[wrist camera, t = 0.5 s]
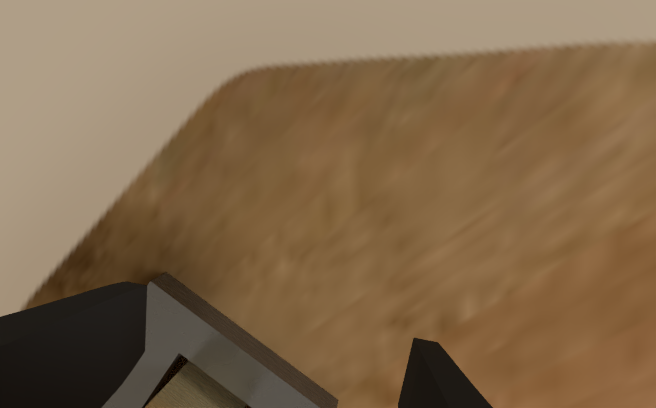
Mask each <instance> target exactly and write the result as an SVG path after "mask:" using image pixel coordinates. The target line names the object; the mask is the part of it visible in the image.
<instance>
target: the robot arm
mask: <svg viewBox="0 0 656 408" xmlns="http://www.w3.org/2000/svg"><path fill="white" fill-rule="evenodd" d="M146 309H147V286H146V285H141V284H136V283H131V282H121V283H116V284H112V285H108V286H104V287H101V288H97V289H94V290H91V291H87V292H84V293H81V294H77V295H74V296H71V297H67V298H64V299H61V300H57V301H54V302H51V303H48V304H44V305H41V306H38V307H34V308H31V309H27V310H23V311H20V312H16V313H12V314H9V315H5V316H2V317H0V408H102V407H103V405H104V404H105V403H106V402H107V401H108V400H109V399H110V398H111V397H112V395H113V394H114V393H115V392H116V391H117V390H118V389H119V387H120V386H121V385H122V384H123V382H124V381H125V380H126V378H127V377H128V375H129V374H130V373H131V371H132V370H133V369H134V367H135V366H136V364H137V363H138V361H139V360H140V358H141V357H142V355H143V354H144V352H145V338H146ZM398 408H493V407H492V406H491V405H490V404H489V403H488V402H487V401H486V399H485V398H484V397H483V396H482V395H481V394H480V393H479V391H478V390H477V389H476V388H475V387H474V386H473V384H472V383H471V382H470V381H469V380H468V378H467V377H466V376H465V375H464V373H463V372H462V371H461V370H460V369H459V367H458V366H457V365H456V364H455V362H454V361H453V360H452V359H451V358H450V356H449V355H448V354H447V353H446V351H445V350H444V349H443V348H442V347H441V346H440V344H439V343H438V342H433V341H428V340H423V339H418V338H414V339H413V343H412V347H411V352H410V356H409V360H408V364H407V369H406V373H405V377H404V381H403V386H402V390H401V394H400V399H399V403H398Z"/></svg>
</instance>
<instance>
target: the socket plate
mask: <svg viewBox="0 0 656 408" xmlns="http://www.w3.org/2000/svg"><path fill="white" fill-rule="evenodd" d="M182 355H183V356H184V357H185V358H187V359H188V360H189V361H191V362H192V363H193V364H195V365H196V366H197V367H198V368H200V369H201V370H202V371H204V372H205V373H206V374H208V375H209V376H210V377H212V378H213V379H214V380H216V381H217V382H218V383H220V384H221V385H222V386H224V387H225V388H226V389H228V390H229V391H230V392H232V393H233V394H234V395H236V396H237V397H238V398H240V399H241V400H242V401H244V402H245V403H246V404H248V405H249V406H250V407H252V408H337V404H338V400H337V399H336V398H334V397H333V396H332V395H330V394H329V393H328V392H326V391H325V390H324V389H322V388H321V387H320V386H318V385H317V384H316V383H314V382H313V381H312V380H310V379H309V378H308V377H306V376H305V375H304V374H302V373H301V372H300V371H298V370H297V369H295V368H294V367H293V366H291V365H290V364H289V363H287V362H286V361H285V360H283V359H282V358H281V357H279V356H278V355H277V354H275V353H274V352H273V351H271V350H270V349H269V348H267V347H266V346H265V345H263V344H262V343H261V342H259V341H258V340H257V339H255V338H254V337H252V336H251V335H250V334H248V333H247V332H246V331H244V330H243V329H242V328H240V327H239V326H238V325H236V324H235V323H234V322H232V321H231V320H230V319H228V318H227V317H226V316H224V315H223V314H222V313H220V312H219V311H218V310H216V309H215V308H214V307H212V306H211V305H209V304H208V303H207V302H205V301H204V300H203V299H201V298H200V297H199V296H197V295H196V294H195V293H193V292H192V291H191V290H189V289H188V288H187V287H185V286H184V285H183V284H181V283H180V282H179V281H177V280H176V279H175V278H173V277H172V276H171V275H169V274H168V273H167V272H166V273H164V274H162V275H161V276H159V277H157V278H155V279H153V280H151V281H150V282H149V284H148V285H147V309H146V338H145V352H144V354H143V355H142V357H141V358H140V360H139V361H138V363H137V364H136V366H135V367H134V369H133V370H132V371H131V373H130V374H129V375H128V377H127V378H126V380H125V381H124V382H123V384H122V385H121V386H120V387H119V389H118V390H117V391H116V392H115V393H114V394H113V395H112V397H111V398H110V399H109V400H108V401H107V402H106V403H105V404H104V405H103V407H102V408H145V407H146V406H147V405H148V404H149V403H150V401H151V400H152V399H153V397H154V396H155V394H156V393H157V391H158V390H159V388H160V387H161V385H162V384H163V382H164V381H165V380H166V378H167V377H168V375H169V374H170V372H171V371H172V369H173V368H174V366H175V365H176V363H177V362H178V360H179V359H180V357H181V356H182Z"/></svg>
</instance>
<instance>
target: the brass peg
mask: <svg viewBox="0 0 656 408" xmlns="http://www.w3.org/2000/svg"><path fill="white" fill-rule="evenodd" d="M245 406H246V403H245V402H244V401H242V400H241V399H240V398H238V397H237V396H236V395H234V394H233V393H232V392H230V391H229V390H228V389H226V388H225V387H224V386H222V385H221V384H220V383H218V382H217V381H216V380H214V379H213V378H212V377H210V376H209V375H208V374H206V373H205V372H204V371H202V370H201V369H200V368H198V367H197V366H196V365H195V364H193V363H192V362H191V361H188V362H187V363H186V364H185V365H184V366H183V367H182V369H181V370H180V371H179V372H178V373H177V374H176V375H175V376H174V377H173V378H172V379H171V380H170V381H169V382H168V383H167V384H166V386H165V387H164V388H163V389H162V390H161V391H160V392H159V393H158V394H157V395H156V396H155V397H154V398H153V399H152V400H151V401H150V403H149V404H148V405H147V406H146V407H145V408H245Z"/></svg>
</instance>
